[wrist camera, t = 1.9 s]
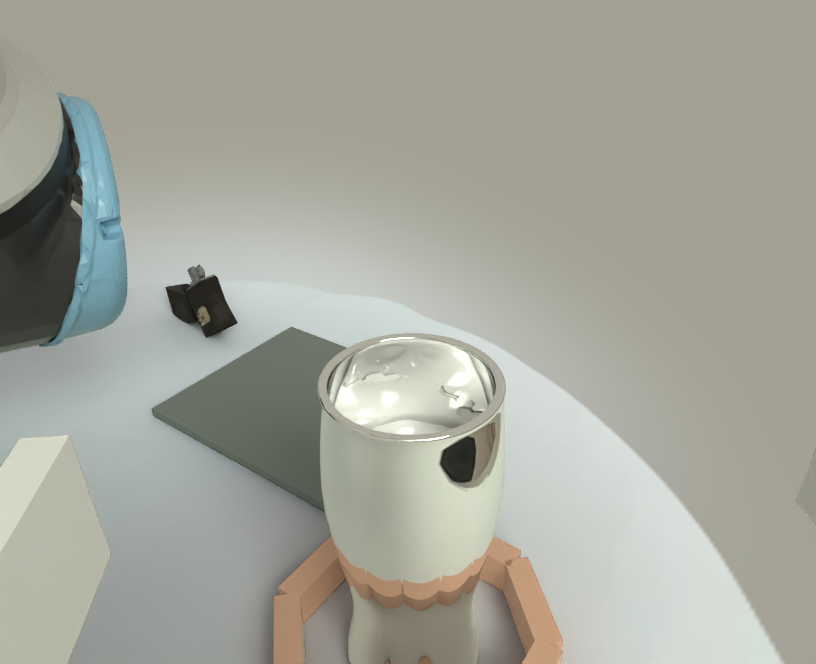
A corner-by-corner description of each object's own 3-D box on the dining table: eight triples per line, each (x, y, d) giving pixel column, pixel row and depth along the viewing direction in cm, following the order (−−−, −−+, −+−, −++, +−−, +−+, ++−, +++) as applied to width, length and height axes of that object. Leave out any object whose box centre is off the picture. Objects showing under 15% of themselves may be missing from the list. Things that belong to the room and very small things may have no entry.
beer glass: (378, 565, 34) (367, 316, 26) (506, 611, 31) (534, 351, 24) (310, 683, 28) (270, 411, 21) (458, 750, 26) (474, 469, 18)
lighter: (181, 349, 58) (154, 291, 57) (203, 340, 59) (177, 283, 59) (214, 332, 51) (184, 266, 50) (238, 322, 52) (210, 258, 52)
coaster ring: (220, 677, 29) (213, 650, 28) (385, 508, 37) (385, 482, 36) (458, 873, 22) (460, 846, 21) (590, 615, 31) (596, 587, 30)
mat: (153, 415, 45) (151, 408, 45) (292, 332, 55) (291, 326, 55) (351, 526, 36) (350, 518, 36) (474, 403, 46) (475, 396, 46)
